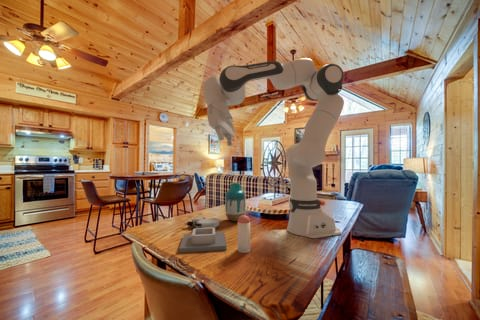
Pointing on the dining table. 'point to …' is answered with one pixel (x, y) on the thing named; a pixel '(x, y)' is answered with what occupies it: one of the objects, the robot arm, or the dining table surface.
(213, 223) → the robot toy
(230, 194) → the vase
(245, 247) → the pink-topped post
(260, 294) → the dining table surface
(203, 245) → the jig
